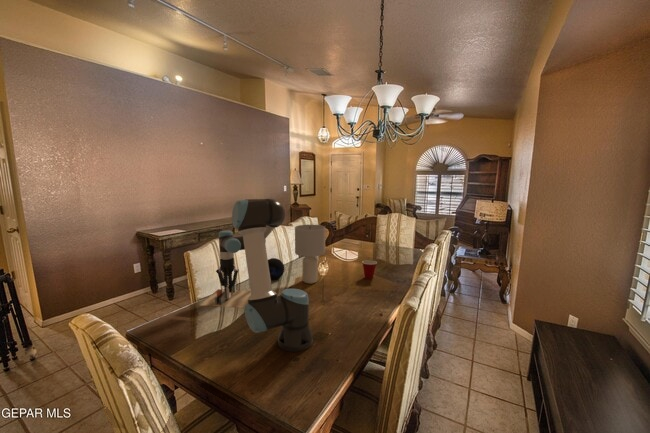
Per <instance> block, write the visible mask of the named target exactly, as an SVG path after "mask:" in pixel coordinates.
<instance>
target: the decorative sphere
mask: <svg viewBox="0 0 650 433" xmlns="http://www.w3.org/2000/svg"><path fill="white" fill-rule="evenodd" d="M268 265H269V272H270V279H271V281H273V280H274V281H275V280H278V279H281V277H282V276H283V275H284V273H285V265H284V263H283V261H282V260H281V259H279V258H275V257H274V258H273V257H272V258H269V259H268Z"/></svg>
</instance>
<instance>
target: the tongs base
mask: <svg viewBox="0 0 650 433" xmlns="http://www.w3.org/2000/svg"><path fill="white" fill-rule="evenodd" d="M235 285H236V284H235ZM235 285H234V286H233V293H234V292H235V290H236V288H235V287H236V286H235ZM223 290H224V291H223V292H222V294H221V295H220V296H222V295H223V294H224V293H225V289H223ZM220 296H216V297H215V305H217V304H218V303H219V297H220Z"/></svg>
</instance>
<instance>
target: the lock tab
mask: <svg viewBox="0 0 650 433" xmlns="http://www.w3.org/2000/svg"><path fill="white" fill-rule="evenodd" d="M217 290H218V289H217ZM217 290H216V291H217ZM222 290H223V289H219V290H218V291H217V296H220V295H221V294H222Z"/></svg>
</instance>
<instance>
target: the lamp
mask: <svg viewBox="0 0 650 433" xmlns="http://www.w3.org/2000/svg"><path fill="white" fill-rule="evenodd" d="M294 253H295V255H297V256H300V257H303V258H302V270H301V271H302V281H303V283H305V284H310V285H311V284H314V283H316V282H317V281H318V266H319V264H318V258H317V257H320V256H324V255H325V253H326V226H325V225H320V224H301V225H296V226H294Z"/></svg>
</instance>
